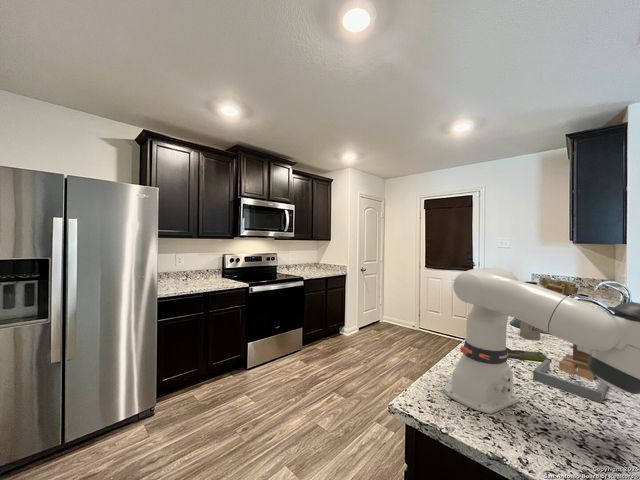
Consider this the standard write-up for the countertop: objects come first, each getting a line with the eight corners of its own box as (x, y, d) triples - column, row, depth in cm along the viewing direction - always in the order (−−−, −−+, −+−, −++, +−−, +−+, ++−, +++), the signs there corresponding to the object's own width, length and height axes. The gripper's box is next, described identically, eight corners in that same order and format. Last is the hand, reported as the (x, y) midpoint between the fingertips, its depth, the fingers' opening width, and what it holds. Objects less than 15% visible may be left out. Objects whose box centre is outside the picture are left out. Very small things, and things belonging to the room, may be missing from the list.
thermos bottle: (542, 341, 128) (544, 283, 128) (523, 338, 131) (524, 282, 131) (536, 335, 135) (537, 281, 135) (517, 333, 138) (518, 280, 138)
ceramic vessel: (593, 295, 202) (581, 270, 197) (576, 317, 197) (564, 292, 191) (558, 289, 224) (546, 266, 218) (542, 308, 218) (530, 286, 212)
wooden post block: (599, 374, 97) (600, 336, 97) (562, 363, 105) (563, 328, 105) (602, 368, 101) (603, 331, 101) (567, 358, 109) (568, 324, 109)
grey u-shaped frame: (601, 403, 79) (601, 393, 79) (533, 379, 92) (533, 370, 92) (608, 386, 88) (608, 377, 88) (545, 366, 102) (545, 359, 102)
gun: (531, 349, 119) (553, 366, 105) (485, 344, 123) (500, 360, 108) (531, 344, 119) (554, 359, 105) (485, 339, 123) (500, 353, 108)
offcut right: (593, 380, 92) (593, 372, 92) (577, 375, 96) (577, 367, 96) (595, 377, 95) (595, 369, 95) (580, 372, 98) (580, 364, 98)
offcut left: (573, 374, 96) (573, 366, 96) (559, 370, 100) (559, 362, 100) (576, 371, 98) (576, 363, 98) (562, 367, 102) (562, 359, 102)
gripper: (631, 375, 86) (573, 359, 98) (636, 359, 99) (584, 346, 110) (632, 356, 86) (574, 342, 97) (636, 342, 99) (584, 331, 110)
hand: (579, 344), depth 104 cm, fingers open, 8 cm apart
